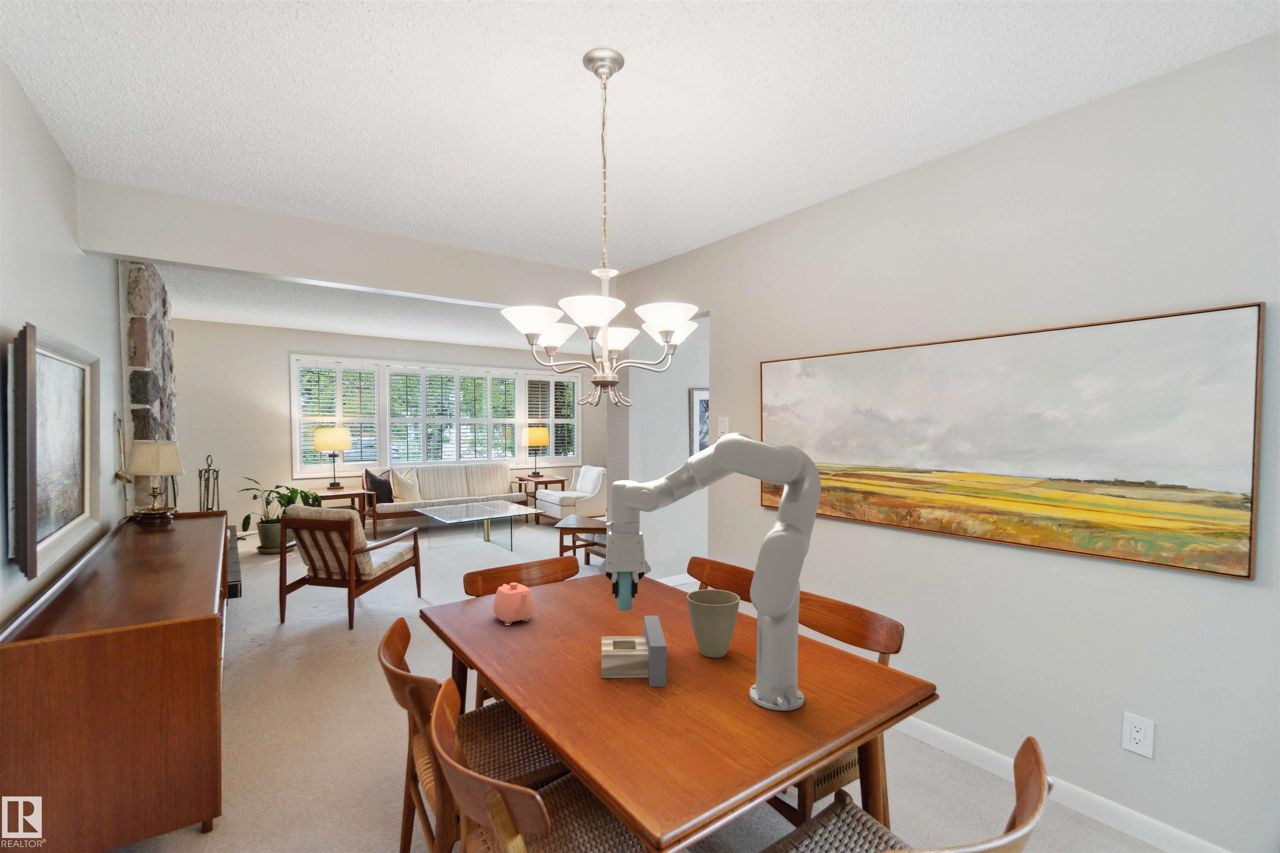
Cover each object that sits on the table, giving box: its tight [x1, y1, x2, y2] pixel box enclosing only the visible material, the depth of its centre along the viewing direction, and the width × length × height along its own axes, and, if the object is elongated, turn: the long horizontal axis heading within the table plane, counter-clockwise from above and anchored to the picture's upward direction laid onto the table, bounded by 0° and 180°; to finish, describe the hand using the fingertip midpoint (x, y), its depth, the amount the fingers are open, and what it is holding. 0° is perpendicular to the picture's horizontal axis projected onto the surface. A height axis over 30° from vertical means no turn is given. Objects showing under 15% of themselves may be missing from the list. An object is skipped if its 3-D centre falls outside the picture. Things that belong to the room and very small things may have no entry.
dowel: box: [616, 572, 633, 612], centre depth 148 cm, size 4×4×10 cm
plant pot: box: [686, 588, 741, 659], centre depth 159 cm, size 15×15×16 cm
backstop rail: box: [643, 615, 668, 688], centre depth 149 cm, size 22×4×10 cm, turn 4°
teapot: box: [493, 582, 535, 625], centre depth 183 cm, size 20×12×12 cm, turn 35°
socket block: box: [600, 635, 649, 679], centre depth 149 cm, size 12×12×6 cm
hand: (624, 595), depth 148 cm, fingers closed on dowel, 4 cm apart
